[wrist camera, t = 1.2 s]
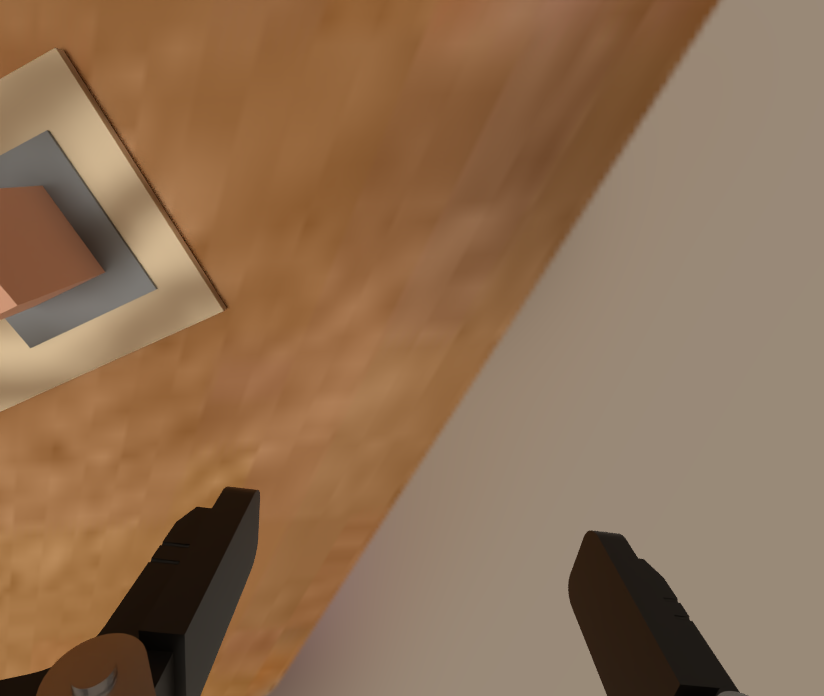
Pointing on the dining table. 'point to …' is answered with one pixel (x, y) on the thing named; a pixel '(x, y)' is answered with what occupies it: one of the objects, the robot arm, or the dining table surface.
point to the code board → (89, 237)
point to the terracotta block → (38, 251)
